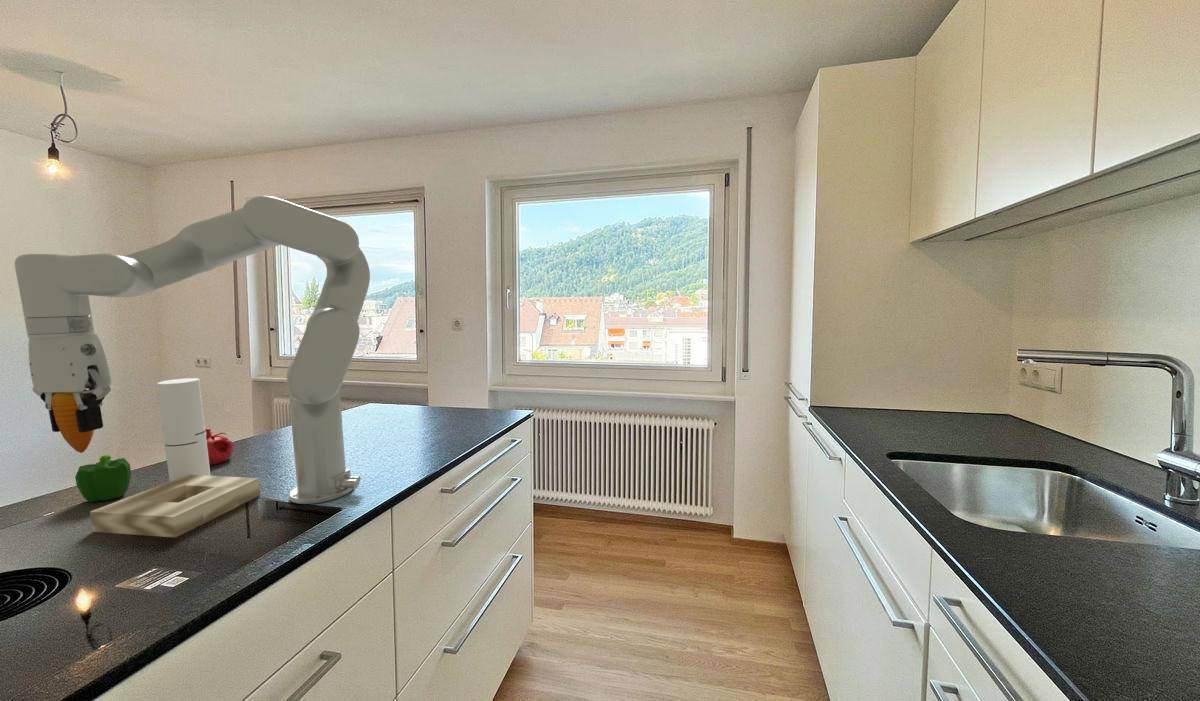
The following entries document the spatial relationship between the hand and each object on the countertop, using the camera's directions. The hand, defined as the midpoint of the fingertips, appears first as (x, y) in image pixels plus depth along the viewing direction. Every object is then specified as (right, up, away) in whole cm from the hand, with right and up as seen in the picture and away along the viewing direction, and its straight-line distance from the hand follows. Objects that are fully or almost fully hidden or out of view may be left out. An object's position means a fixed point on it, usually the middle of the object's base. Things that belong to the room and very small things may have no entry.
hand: (78, 428), depth 81 cm
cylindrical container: (-4, -18, +26) cm, 32 cm away
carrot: (0, -5, +1) cm, 5 cm away
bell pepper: (-17, -19, +20) cm, 32 cm away
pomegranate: (-12, -16, +42) cm, 46 cm away
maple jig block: (+7, -19, +13) cm, 24 cm away
